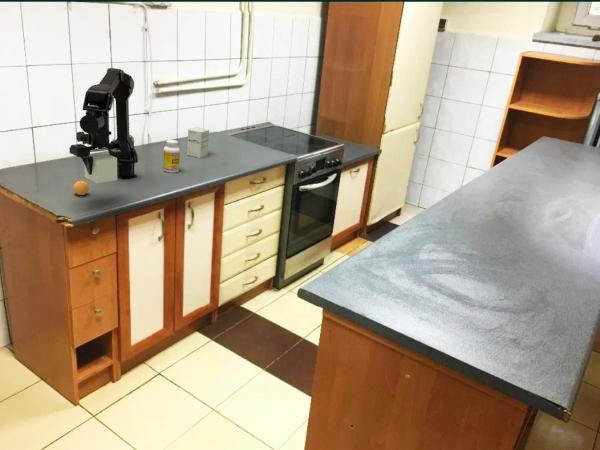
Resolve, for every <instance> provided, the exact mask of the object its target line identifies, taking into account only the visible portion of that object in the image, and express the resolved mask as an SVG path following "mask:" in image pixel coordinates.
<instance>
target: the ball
mask: <svg viewBox="0 0 600 450" xmlns="http://www.w3.org/2000/svg"><path fill="white" fill-rule="evenodd" d="M89 190H90V187H89V184H88V183H87V182H86V181H84V180H78V181H76V182H75V183H74V184H73V191H74V193H75V194H76V195H79V196H84V195H86V194H88V192H89Z"/></svg>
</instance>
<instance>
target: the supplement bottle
mask: <svg viewBox="0 0 600 450" xmlns="http://www.w3.org/2000/svg"><path fill="white" fill-rule="evenodd" d="M165 142H166V143H165V145H166V146H164V147H163V157H162V161H163V162H162V163H163V164H162V169H163V172H166V173H169V174H170V173H177V172H179V171H180V157H181V156H180V155H181V149H180V148H179V147H178V144H179V141H178V140H176V139H167V140H166V141H165Z"/></svg>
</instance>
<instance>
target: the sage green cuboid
mask: <svg viewBox="0 0 600 450" xmlns="http://www.w3.org/2000/svg"><path fill="white" fill-rule="evenodd" d="M90 156H92V157H93V163H92V174H91V175H89V174H88V171H87V169H86V166H85V164H84V163H83V165H84V178H86V179H88V181H91V182H93V183H95V184H101V183H102V184H103V183H109V182H114V181H118V176H117V158H116V157H114V156H111V155H109V153H108V152H99V153H98V152H97V153H90Z"/></svg>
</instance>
